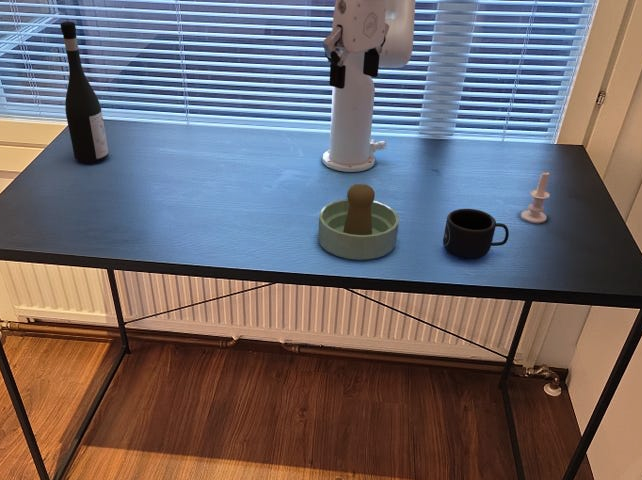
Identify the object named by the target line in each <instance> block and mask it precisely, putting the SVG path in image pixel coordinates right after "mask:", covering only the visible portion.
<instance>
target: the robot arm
mask: <svg viewBox="0 0 642 480" xmlns="http://www.w3.org/2000/svg"><path fill="white" fill-rule="evenodd" d="M415 15H416V0H335V2H334V9H333V17H332V28H331V32H330V33H329V34H328V35H327V36H326V37H325V38H324V40H323V41H322V47H323V50H324V56H325V57H326V59H327V63H328V64H330V66H329V68H330V69H329V86H330V87H332V93H331V94H332V96H331V113H330V115H331V116H330V130H329V131H330V133H329V149H327V150H326V151H325V152H324V153H323V154H322V163H323V164H324V165H325V166H326V167H327V168H329V169H331V170H335V171H339V172H345V173H356V172H363V171H367V170H369V169H371V168H372V167H373V166H374V165H375V163H376V157H375V155H374V154H373V153H376V151H382V150H385V149H386V148H387V143H386V141H385V140H381V141H377V142H376V139H371V136H372V128H373V127H372V126H373V117H374V104H375V93H376V87H375V83H374V80H373V78H377V77H378V76H379V68H382V69H383V68H384V69H399V68H404V67H405V66H406V65H407V64H408V63H409V62H410V60H411V58H412V54H413V47H414V35H415V34H414V33H415Z"/></svg>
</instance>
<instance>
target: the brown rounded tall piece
mask: <svg viewBox="0 0 642 480" xmlns="http://www.w3.org/2000/svg"><path fill="white" fill-rule="evenodd" d="M375 197H376V193H375V190H374V188H373V187H372V186H370V185H368V184H366V183H356V184H355V183H354V184H353V185H351V186H350V187H349V189H348V190H347V192H346V199H347V200H348V202H349V208H348V212H347V217H346V221H345V226H344V230H343V233H348V234H353V235H372V217H371V204H372V203H373V201H375Z"/></svg>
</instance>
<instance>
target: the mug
mask: <svg viewBox="0 0 642 480" xmlns="http://www.w3.org/2000/svg"><path fill="white" fill-rule="evenodd" d="M497 227H500V228H503V229H504V231H505V236H504V238H503V240H502V241H496V242H495V241H494V242H493V240H494V235H495V231H496V228H497ZM509 236H510V233H509V228H508V226H507V225H506V224H505V223H501V222H497V221H496V219H495V218H494V217H493V215H491V214H489V213H488V212H485V211H483V210H480V209H474V208H459V209H455V210H452V211H451V212H449V213H448V215H447V216H446V221H445V227H444V232H443V238H442V245H443V248H444V250H445V252H446V253H447V254H449V256H452V257H454V258H457V259H460V260H465V261H476V260H480V259H482V258H484V257H485V256H487V254H488V253H489V251H490V250H491V247H498V246H504V245H505V244H506V243H507V242H508V240H509Z"/></svg>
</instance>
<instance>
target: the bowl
mask: <svg viewBox="0 0 642 480" xmlns="http://www.w3.org/2000/svg"><path fill="white" fill-rule="evenodd" d="M348 208H349V202H348V200H347V198H345V199H344V198H343V199H339V200H335V201H332V202H330V203H328V204H326V205H325V206H323V208H321V210H320V211H319V215H318V233H317V234H318V235H317V240H318V242H319V244H320V246H321V247H322V248H323V249H324V250H325V251H327V253H330V254H332V255H334V256H336V257H340V258H345V259H348V260H360V261H361V260H362V261H363V260H373V259H378V258H381V257H384V256H386V255H387V254H389V253H391V252H392V251H393V250H394V248H395V247H396V245H397V240H398V232H399V225H400V216H399V215H398V213H397V212H396V210H394V209H393V208H391V207H390V206H389V205H388V204H384V203H382V202H380V201H376V200H374V201H373V203H372V204H371V217H372V235H353V234H348V233H343V230H344V226H345V221H346V217H347V212H348Z"/></svg>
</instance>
